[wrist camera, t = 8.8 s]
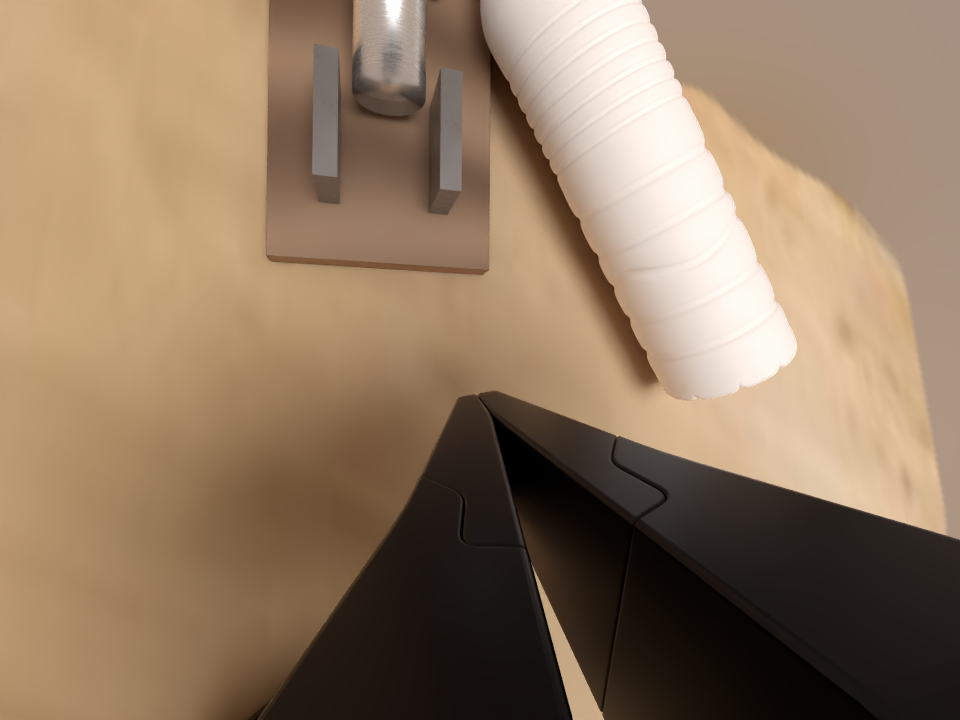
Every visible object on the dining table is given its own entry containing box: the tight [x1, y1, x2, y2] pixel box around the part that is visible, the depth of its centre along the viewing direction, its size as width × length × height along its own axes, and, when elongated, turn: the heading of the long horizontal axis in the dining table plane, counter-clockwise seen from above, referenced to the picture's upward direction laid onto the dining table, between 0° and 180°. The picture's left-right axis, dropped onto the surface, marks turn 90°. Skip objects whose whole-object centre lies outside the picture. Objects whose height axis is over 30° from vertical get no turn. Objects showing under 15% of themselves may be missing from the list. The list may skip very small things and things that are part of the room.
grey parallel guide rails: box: [312, 44, 462, 215], centre depth 19 cm, size 5×6×3 cm
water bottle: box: [480, 0, 797, 400], centre depth 22 cm, size 9×6×25 cm
